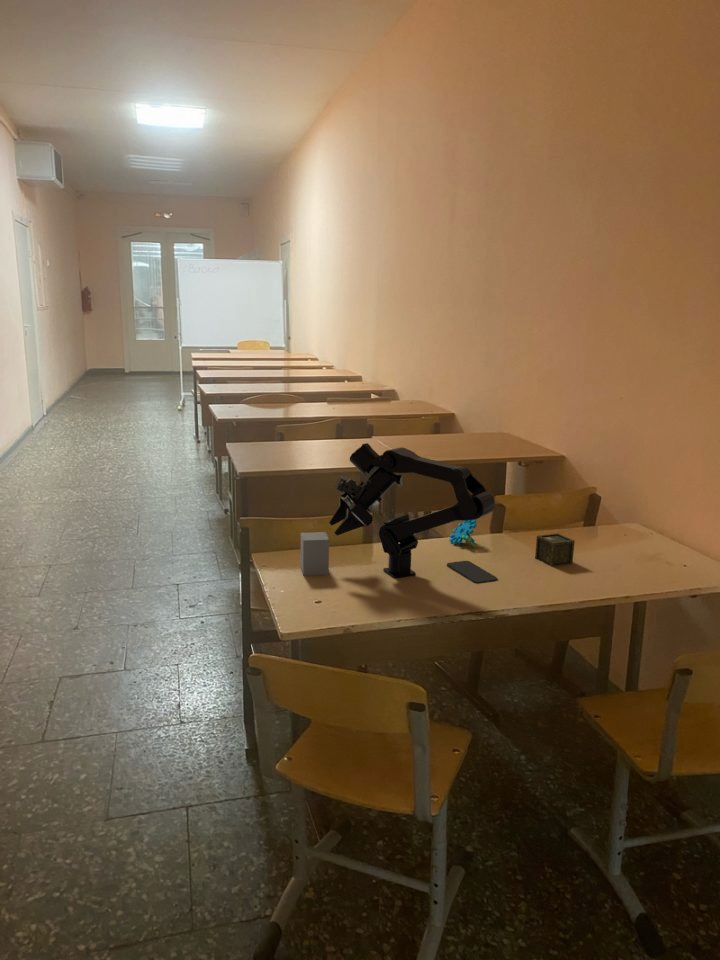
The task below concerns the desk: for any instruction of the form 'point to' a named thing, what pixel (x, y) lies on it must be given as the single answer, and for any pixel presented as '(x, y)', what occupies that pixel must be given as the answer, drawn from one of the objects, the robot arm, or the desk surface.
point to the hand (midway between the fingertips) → (332, 529)
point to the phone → (472, 572)
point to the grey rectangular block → (314, 553)
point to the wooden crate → (554, 549)
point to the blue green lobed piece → (464, 532)
